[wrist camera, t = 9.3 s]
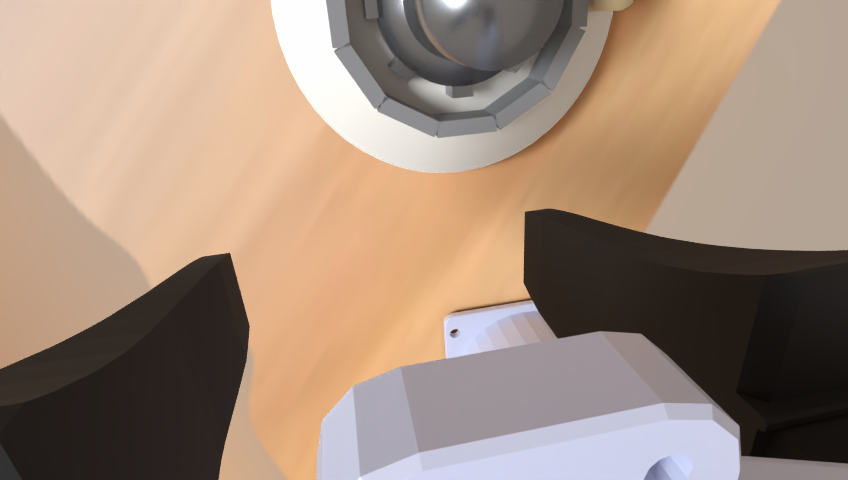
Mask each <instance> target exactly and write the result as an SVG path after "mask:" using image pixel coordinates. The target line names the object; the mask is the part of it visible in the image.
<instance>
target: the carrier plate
mask: <svg viewBox="0 0 848 480" xmlns="http://www.w3.org/2000/svg"><path fill="white" fill-rule="evenodd" d="M633 1H634V0H564V3H563V8H562V11H561V14H560V17H559V20H558V22H557V25H556V27H555V29H554V31H553V32H552V34H551V36H550V37H549V39H548V40H547V41H546V43H545V44H544V45H543V46H542V47H541V48H540V49H539V50H538V51H537V52H536V53H535V54H534V55H533V56H531V57H530V58H529V59H528V60H527V61H526V62H525V63H524V64H523V66H522V67H521V68H520V69H519V70H518V71H517V73H512V72H508V71H505V70H502V71H501V72H500V73H498V74H496V75H495V76H493V77H492V78H489V79H487V80H485V81H483V82H480V83H477V84H474V85H473V94H474V96H473V97H463V98H451V97H450V96H448V95H446V89H445V86H443V85H439V84H436V83H432V82H430V81H428V80H425V79H423V78H421V77H420V76H418V75H416V74H415V75H414V76H413V78H412V79H411V80H410V81H409V83H407V82H405V81H404V80H403V79H402V78H400V77H399V76H398V75H397V74H396V73H395V72H394V71H393V70H391V69H390V68H389V67H388V66H387V65H388V64H389V63H390V61H391V60H392V59H393V58H394V55H393V54H392V53H391V51H390V50H389V49H388V47H387V45H386V43H385V42H384V40H383V38H382V35H381V33H380V31H379V28H378V24H377V21H376V18H375V19H364V14H363V5H362V0H271V6H272V14H273V19H274V23H275V27H276V31H277V35H278V39H279V43H280V45H281V48H282V51H283V53H284V56H285V59H286V61H287V64H288V66H289V68H290V70H291V72H292V74H293V76H294V78H295V80H296V82H297V84H298V86H299V88H300V89H301V91H302V92H303V93H304V95H305V96H306V98H307V99H308V101H309V102H310V104H311V105H312V107H313V108H314V109H315V110H316V111H317V112H318V114H319V115H320V116H321V117H322V118H323V119H324V120H325V121H326V123H327V124H328V125H329V126H330V127H332V128H333V129H334V130H335V131H336V132H337V133H338V134H339V135H341V136H342V137H343V138H344V139H345V140H347V141H348V142H350V143H351V144H353V145H354V146H356V147H357V148H359V149H360V150H361V151H363V152H365V153H367V154H369V155H371V156H373V157H375V158H377V159H379V160H381V161H383V162H386V163H389V164H392V165H395V166H398V167H401V168H405V169H410V170H415V171H420V172H433V173H450V172H462V171H467V170H473V169H478V168H481V167H485V166H488V165H491V164H494V163H497V162H499V161H501V160H504V159H506V158H508V157H510V156H512V155H514V154H516V153H518V152H520V151H521V150H523V149H524V148H526V147H528V146H529V145H531V144H532V143H534V142H535V141H536V140H538V139H539V138H540V137H541V136H543V135H544V134H545V133H546V132H548V131H549V130H550V129H551V128H552V127H553V126H554V125H555V124H556V123H557V122H558V121H559V120H560V119H561V118H562V117H563V116H564V115H565V113H566V112H567V111H568V110H569V108H570V107H571V106H572V105H573V103H574V102H575V101H576V100H577V98H578V97H579V95H580V94H581V92H582V90H583V89H584V87H585V86H586V84H587V82H588V81H589V79H590V77H591V75H592V73H593V71H594V69H595V67H596V65H597V63H598V61H599V58H600V56H601V53H602V50H603V47H604V45H605V42H606V39H607V36H608V32H609V28H610V24H611V20H612V16H613V11H620V10H623V9H626V8H627V7H628V6H630V5H631V4H632V3H633Z"/></svg>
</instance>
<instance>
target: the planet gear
mask: <svg viewBox="0 0 848 480" xmlns="http://www.w3.org/2000/svg"><path fill="white" fill-rule="evenodd" d="M563 3H564V0H362V5H363V14H364V19H375V18H376V21H377V24H378V28H379V31H380V33H381V35H382V38H383V40H384V42H385V43H386V45H387V47H388V49H389V50H390V51H391V53H392V54H393V55H394V58H393V59H392V60H391V61H390V63H389V64H388V65H387V66H388V67H389V68H390V69H391V70H393V71H394V72H395V73H396V74H397V75H398V76H399V77H400V78H402V79H403V80H404V81H405V82H407V83H409V81H410V80H411V79H412V78H413V76H414V75H415V74H416V75H418V76H420V77H421V78H423V79H425V80H428V81H430V82H432V83H436V84H439V85H443V86H445V89H446V95H448V96H450V97H451V98H463V97H473V96H474V94H473V85H474V84H477V83H480V82H483V81H485V80H487V79H489V78H492V77H493V76H495V75H496V74H498V73H500V72H501V71H502V70H505V71H508V72H512V73H517V71H518V70H519V69H520V68H521V67H522V66H523V64H524V63H525V62H526V61H527V60H528V59H529V58H530V57H531V56H533V55H534V54H535V53H536V52H537V51H538V50H539V49H540V48H541V47H542V46H543V45H544V44H545V43H546V41H547V40H548V39H549V37H550V36H551V34H552V32H553V31H554V29H555V27H556V25H557V22H558V20H559V17H560V14H561V11H562V8H563Z"/></svg>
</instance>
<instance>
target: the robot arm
mask: <svg viewBox="0 0 848 480" xmlns="http://www.w3.org/2000/svg"><path fill="white" fill-rule="evenodd" d="M524 284H525V286H526V288H527V290H528V293H529V295H530V297H531V299H532V300H529V301H523V302H517V303H511V304H505V305H499V306H492V307H486V308H480V309H474V310H468V311H462V312H456V313H451V314H449V315H447V316H446V317H445V319H444V322H443V325H444V341H445V356H446V359H442V360H436V361H431V362H425V363H419V364H414V365H408V366H403V367H399V368H396V369H394V370H391V371H389V372H386V373H384V374H381V375H379V376H376V377H374V378H372V379H369V380H367V381H364V382H362V383H359V384H357V385H354V386H352V388H351V389H350V390H349V391H348V392H347V393H346V394H345V395H344V396H343V398H342V399H341V400H340V401H339V402H338V403H337V404H336V405H335V406H334V407H333V409H332V410H331V411H330V412H329V413H328V414H327V415H326V416H325V417H324V418H323V420H322V426H321V433H320V440H319V447H318V454H317V480H848V250H839V251H787V250H763V249H747V248H736V247H726V246H715V245H707V244H700V243H694V242H688V241H682V240H675V239H670V238H665V237H659V236H655V235H651V234H647V233H643V232H639V231H634V230H630V229H627V228H623V227H619V226H615V225H612V224H608V223H605V222H601V221H598V220H594V219H591V218H587V217H584V216H580V215H577V214H573V213H569V212H565V211H561V210H556V209H542V210H535V211H528V212H525V237H524ZM249 327H250V326H249V322H248V319H247V315H246V311H245V307H244V304H243V300H242V296H241V292H240V289H239V285H238V281H237V277H236V274H235V270H234V266H233V262H232V259H231V255H230V253H226V254H219V255H212V256H205V257H201V258H199V259H197V260H195V261H193V262H192V263H190V264H188V265H187V266H185V267H184V268H182V269H181V270H179V271H178V272H176V273H175V274H173V275H172V276H170V277H169V278H168V279H166V280H165V281H163V282H162V283H160V284H159V285H157V286H156V287H154V288H153V289H152V290H150V291H149V292H147V293H146V294H144V295H143V296H141V297H140V298H138V299H136V300H135V301H133V302H131V303H130V304H128V305H127V306H125V307H124V308H122V309H120V310H119V311H117V312H116V313H114V314H112V315H111V316H109V317H107V318H106V319H104V320H102V321H101V322H99V323H97V324H95V325H93V326H92V327H90V328H88V329H86V330H84V331H83V332H80V333H78V334H76V335H74V336H72V337H71V338H69V339H67V340H65V341H63V342H61V343H59V344H56V345H54V346H52V347H50V348H48V349H45V350H43V351H41V352H39V353H36V354H34V355H32V356H30V357H27V358H25V359H23V360H20V361H18V362H16V363H14V364H11V365H9V366H7V367H4V368H2V369H0V480H218V479H219V471H220V465H221V459H222V454H223V450H224V445H225V441H226V437H227V433H228V429H229V425H230V422H231V418H232V414H233V410H234V407H235V403H236V399H237V395H238V391H239V388H240V384H241V380H242V376H243V372H244V368H245V364H246V359H247V350H248V339H249ZM454 329H458V331H457V332H456V333H450V332H451V331H452V330H454Z"/></svg>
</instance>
